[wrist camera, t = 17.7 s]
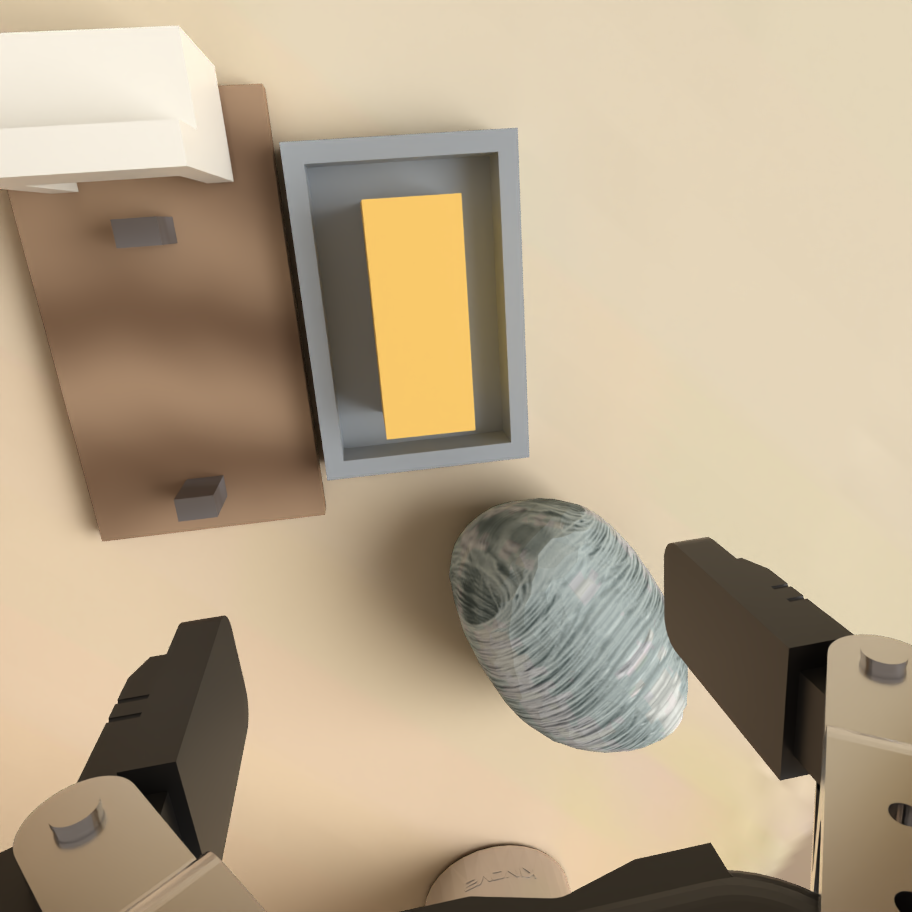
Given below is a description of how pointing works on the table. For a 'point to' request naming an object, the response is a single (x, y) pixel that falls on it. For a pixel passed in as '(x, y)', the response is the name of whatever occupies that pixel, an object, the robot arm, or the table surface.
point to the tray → (348, 295)
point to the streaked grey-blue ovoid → (568, 625)
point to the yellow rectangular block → (420, 313)
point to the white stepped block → (108, 109)
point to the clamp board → (179, 340)
